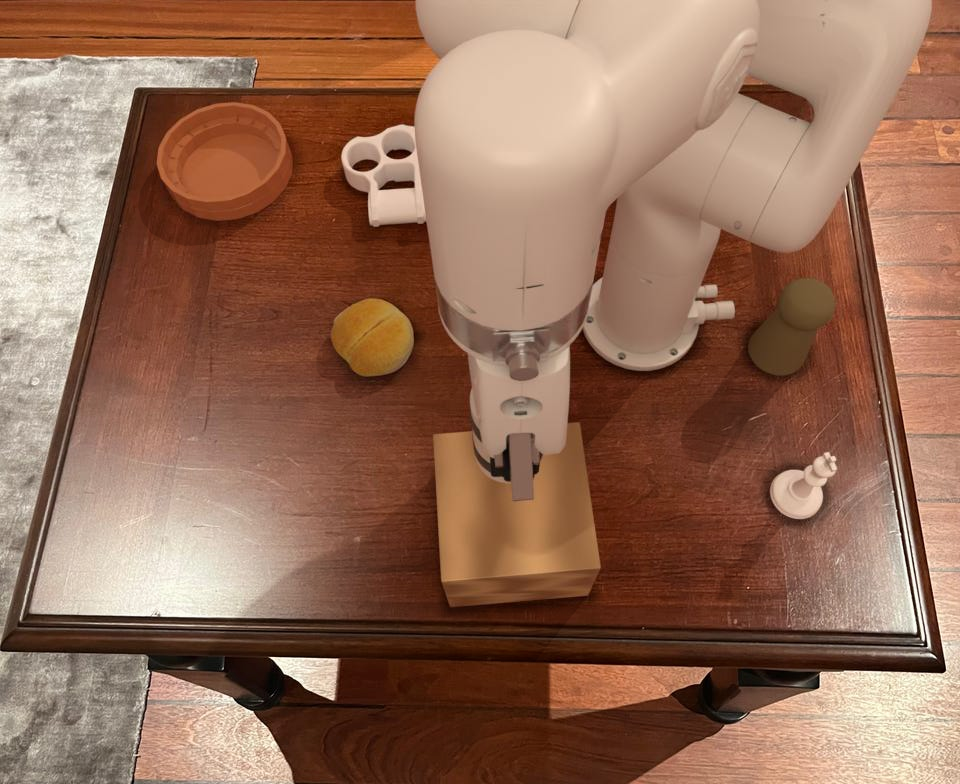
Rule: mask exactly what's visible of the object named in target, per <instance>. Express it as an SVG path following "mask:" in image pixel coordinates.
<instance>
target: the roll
mask: <svg viewBox="0 0 960 784" xmlns="http://www.w3.org/2000/svg"><path fill="white" fill-rule="evenodd" d="M469 414H470V416H469V417H470V424H471V429H472V430H471V431H473V433H472V438H473V448H474V453H475V459H476V462H477V464H478V466H479V468H480V469H481V470H482V472H483V473H484V474H485V475H487V476H488V477H489V478H491V479H493V480H495V481H498V482H502V483H510V482H506V481H505V480H504V477H492V476H491V469H490V456H489V455H488V454H487V453H486V452H485V451H484V449H483V444H482V439H481V434H480V429H479V424H478V419H477V413H476V408H475V402H474V396H473V390H472V388H470V393H469ZM506 444H509V443H506ZM542 458H543V454H542V453H541V458H540V464H541V461H542Z"/></svg>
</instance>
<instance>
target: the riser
mask: <svg viewBox="0 0 960 784" xmlns="http://www.w3.org/2000/svg"><path fill="white" fill-rule="evenodd" d="M472 433H473V430H470V431H469V430H468V431H457V432H446V433H433V434H432V441H433V442H432V443H433V458H434V459H433V461H434V474H435V475H434V478H435V494H436V512H437V515H436V516H437V531H438V547H439V548H438V549H439V564H440V581H441V584H442V588H443V591H444V593H445V596H446V599H447V602H448V605H449V607H450V608H459V607H471V606H480V605H483V606H484V605H493V604H494V605H495V604H503V603H506V604H507V603H517V602H528V601H529V602H530V601H542V600H551V599H552V600H553V599H563V598H576V597H588V596H589V594H590V592H591V590H592V588H593V585H594V584H595V581H596V579H597V577H598V575H599V572H600V571H601V568H602V566H601V559H600V553H599V546H598V539H597V531H596V524H595V518H594V517H595V516H594V511H593V504H592V497H591V490H590V484H589V483H590V482H589V477H588V469H587V468H588V467H587V461H586V456H585V455H586V454H585V448H584V441H583V435H582V428H581V423H580V422H577V421H576V422H567V435H566V445H565V447H564V448H563V450H562V451H561V452H560V453H558V454H552V455H543V458H542V461H541V464H540V467H539V472H538V473H537V474H535V477H534V480H533V489H534V500H523V501H513V499H512V492H511V483H502V482H498V481H495V480H493V479H491V478H489V477H488V476H487V475H485V474H484V473H483V472H482V470H481V469H480V468H479V466H478V464H477V462H476V459H475V453H474V448H473V438H472Z"/></svg>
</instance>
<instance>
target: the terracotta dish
mask: <svg viewBox="0 0 960 784" xmlns="http://www.w3.org/2000/svg"><path fill="white" fill-rule="evenodd" d="M293 157H294V156H293V153H292V151H291V148H290V145H289V142H288V139H287V137H286V134H285V131H284V128H283V127H282V125H281V122H279V121H278V120H277V119H276V118H275V117H274V116H273V115H272V114H271V112H269V111H267V110H265V109H263V108H261V107H258V106H257V105H253V104H249V103H242V102H238V101H237V102H235V101H232V102H220V103H219V102H218V103H213V104H210V105H206V106H204V107H200V108H197V109H195V110H194V111H191V112H190V113H188V114H187V115H185V116H183V117H181V118H180V119H178V121H177V122H176V123H174V125H172V127H171V128H170V129H169V130H168V131H167V132H166V133H165V135H164V137H163V138H162V140H161V142H160V143H159V145H158V149H157V157H156V167H157V170H158V174H159V176H160V179H161V181H162V183H163V185H164V186H165V188H166V190H167V192H168V193H169V195H170V196H171V198H172V199H173V200H174V202H175V203H176V204H177V205H178V206H179V208H180V209H182V210H183V211H185V212H187V213H189V214H191V215H192V216H194V217H196V218H198V219H204V220H210V221H215V222H221V221H233V220H235V221H236V220H240V219H243V218H246V217H248V216H252V215H254V214H257V213H259V212H260V211H262V210H264V209H265V208H266V207H268V206H270V205H271V204H273V203H274V202H275V201H276V200H277V199H278V198H279V196H280V195H281V194H282V193H283V192H284V191H285V190H286V189H287V186H288V184H289V182H290V180H291V177H292V176H293V175H292V174H293V165H294V163H293V162H294V158H293Z"/></svg>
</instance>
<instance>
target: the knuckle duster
mask: <svg viewBox="0 0 960 784" xmlns="http://www.w3.org/2000/svg"><path fill="white" fill-rule="evenodd" d="M397 150H404V151H408V152H410V153H411V154H410V155H408V156H407V157H405V158H400V159H396V158H391V157H389V156H387V155H388V153H389V152H390V151H397ZM340 159H341V164H342V168H343V172H344V176H345V179H346V181H347V183H348V184H349V186H351V187H352V188H354V189H355V190H357V191H360V192H365V193H368V195H367V199H368V200H367V208H368V223H369V225H370V226H372V227H373V228H375V227H377V228H378V227H380V226H386V225H387V226H388V225H401V224H415V223H417V224H418V225H420V224H424V223H427V222H426V214H425V207H424V200H423V193H422V185H421V178H420V171H419V164H418V157H417V149H416V141H415V126H413V125H412V126H411V125H406V124H403V123H402V124H398V125H395V126H391V127H388V128H387V127H386V129H385V130H383V131H382V132H380V133H378V134H375V135H373V136H365V137H364V136H356V137H354V138H352V139H351V140H349V141H348V142H347V143H346V144H345V146H344V147H343V149H342V151H341V155H340ZM364 160H371V161H374V162H376V163H377V166H375V167H374V168H373V169H371V170H368V171H358V170H356V169H353V167H354V166H355V165H356V164H357V163H359V162H360V161H364ZM390 181H394V183H401V182H413V184H414V187H411V188H410V187H407V188H393V189H381V188H382V187H384V186H385V185H386V183H388V182H390Z"/></svg>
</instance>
